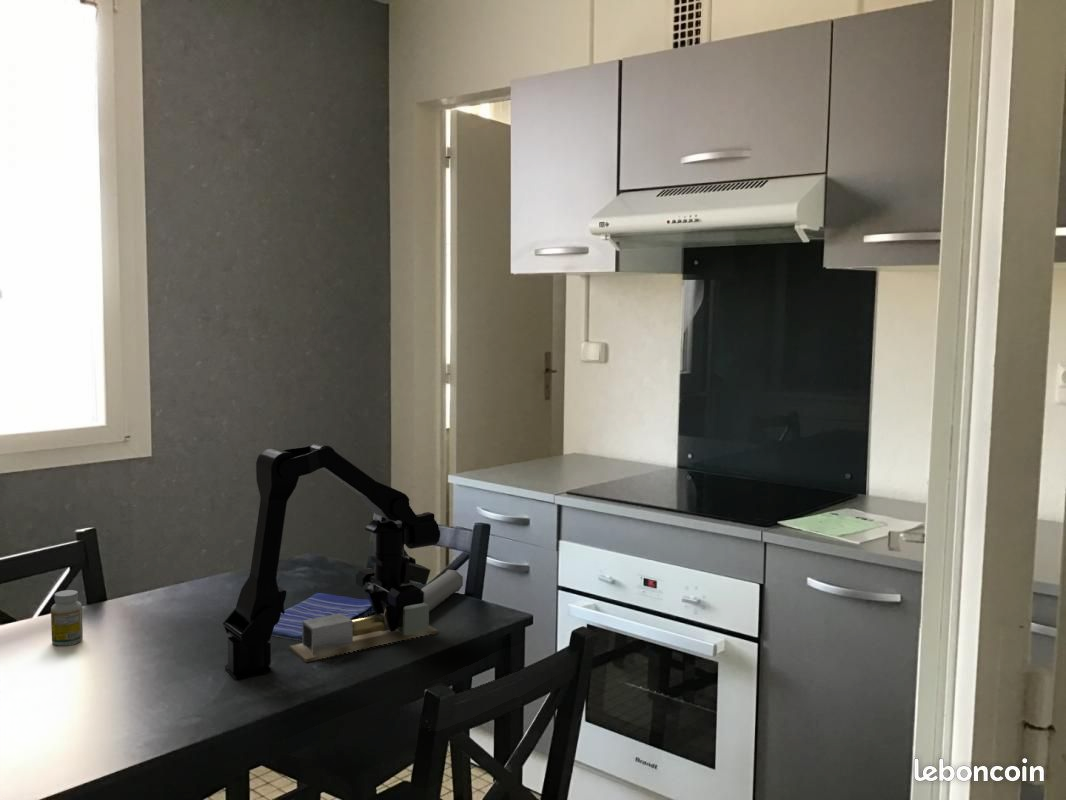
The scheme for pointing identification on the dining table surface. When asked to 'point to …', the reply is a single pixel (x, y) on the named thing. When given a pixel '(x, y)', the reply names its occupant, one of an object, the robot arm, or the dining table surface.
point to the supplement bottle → (66, 619)
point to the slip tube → (372, 624)
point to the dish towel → (319, 613)
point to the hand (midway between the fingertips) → (388, 628)
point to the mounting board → (359, 643)
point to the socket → (415, 619)
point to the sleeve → (327, 633)
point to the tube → (442, 588)
